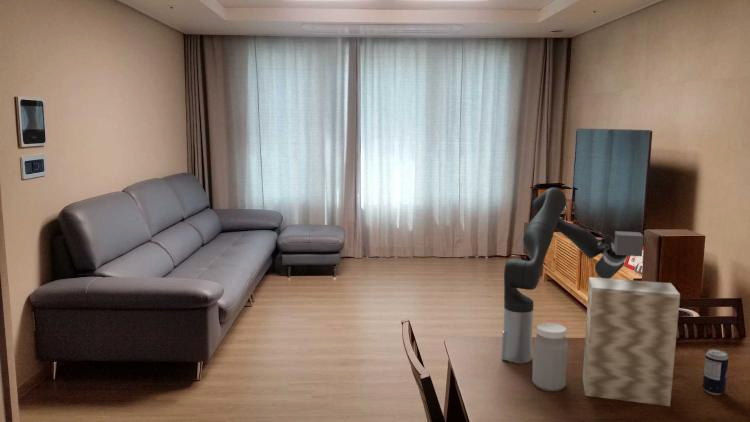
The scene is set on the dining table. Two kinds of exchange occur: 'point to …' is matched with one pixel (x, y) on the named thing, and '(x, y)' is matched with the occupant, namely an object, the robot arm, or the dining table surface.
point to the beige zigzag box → (630, 340)
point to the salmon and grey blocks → (628, 243)
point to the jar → (550, 357)
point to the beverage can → (715, 371)
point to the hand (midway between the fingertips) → (623, 236)
